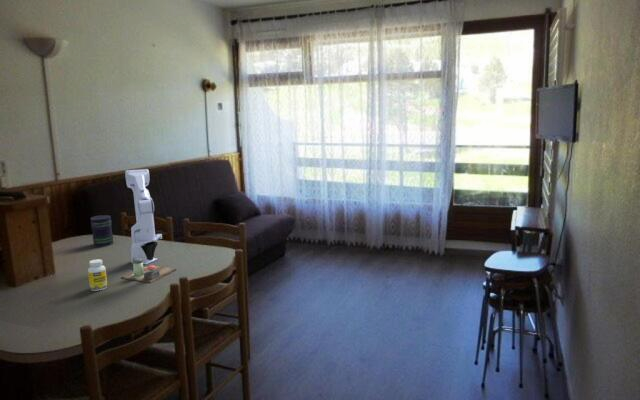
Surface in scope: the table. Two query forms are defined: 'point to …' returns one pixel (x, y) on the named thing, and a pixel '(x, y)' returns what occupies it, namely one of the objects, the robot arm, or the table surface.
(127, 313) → the table surface
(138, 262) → the pale green jar
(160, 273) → the board
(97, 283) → the pill bottle
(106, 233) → the storage jar
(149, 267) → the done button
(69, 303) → the table surface
